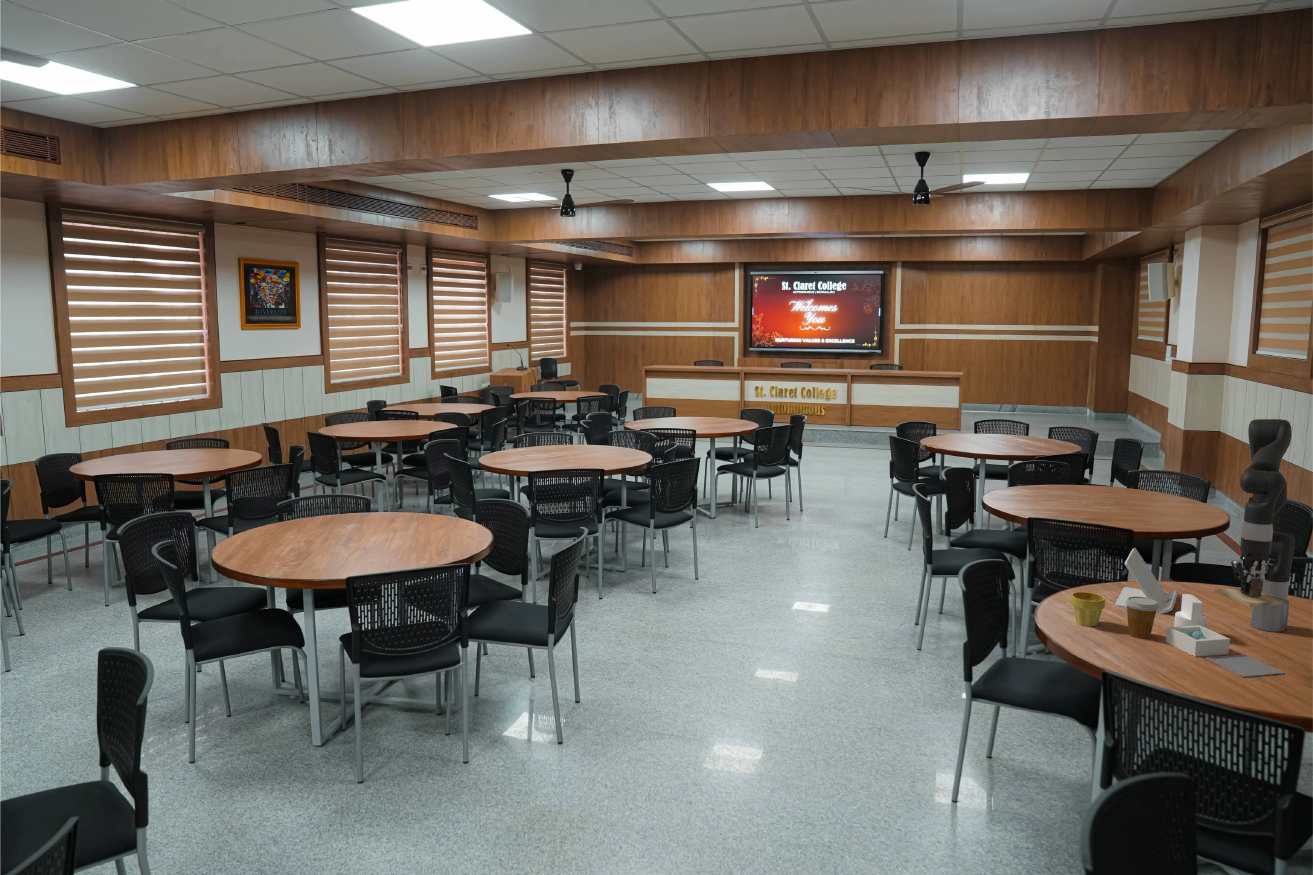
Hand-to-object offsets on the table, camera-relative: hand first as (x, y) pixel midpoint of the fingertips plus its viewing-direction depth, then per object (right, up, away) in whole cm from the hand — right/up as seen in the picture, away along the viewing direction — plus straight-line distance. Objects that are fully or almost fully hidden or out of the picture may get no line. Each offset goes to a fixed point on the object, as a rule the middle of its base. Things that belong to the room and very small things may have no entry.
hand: (1251, 592), depth 254 cm
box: (-5, -21, +17) cm, 28 cm away
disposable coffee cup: (-17, -20, +28) cm, 39 cm away
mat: (0, -23, +3) cm, 23 cm away
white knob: (+1, -19, +30) cm, 36 cm away
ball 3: (-5, -19, +14) cm, 24 cm away
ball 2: (-3, -18, +20) cm, 27 cm away
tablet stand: (+5, -15, +62) cm, 64 cm away
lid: (0, -2, 0) cm, 2 cm away
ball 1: (-8, -18, +19) cm, 27 cm away
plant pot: (-29, -18, +40) cm, 52 cm away
